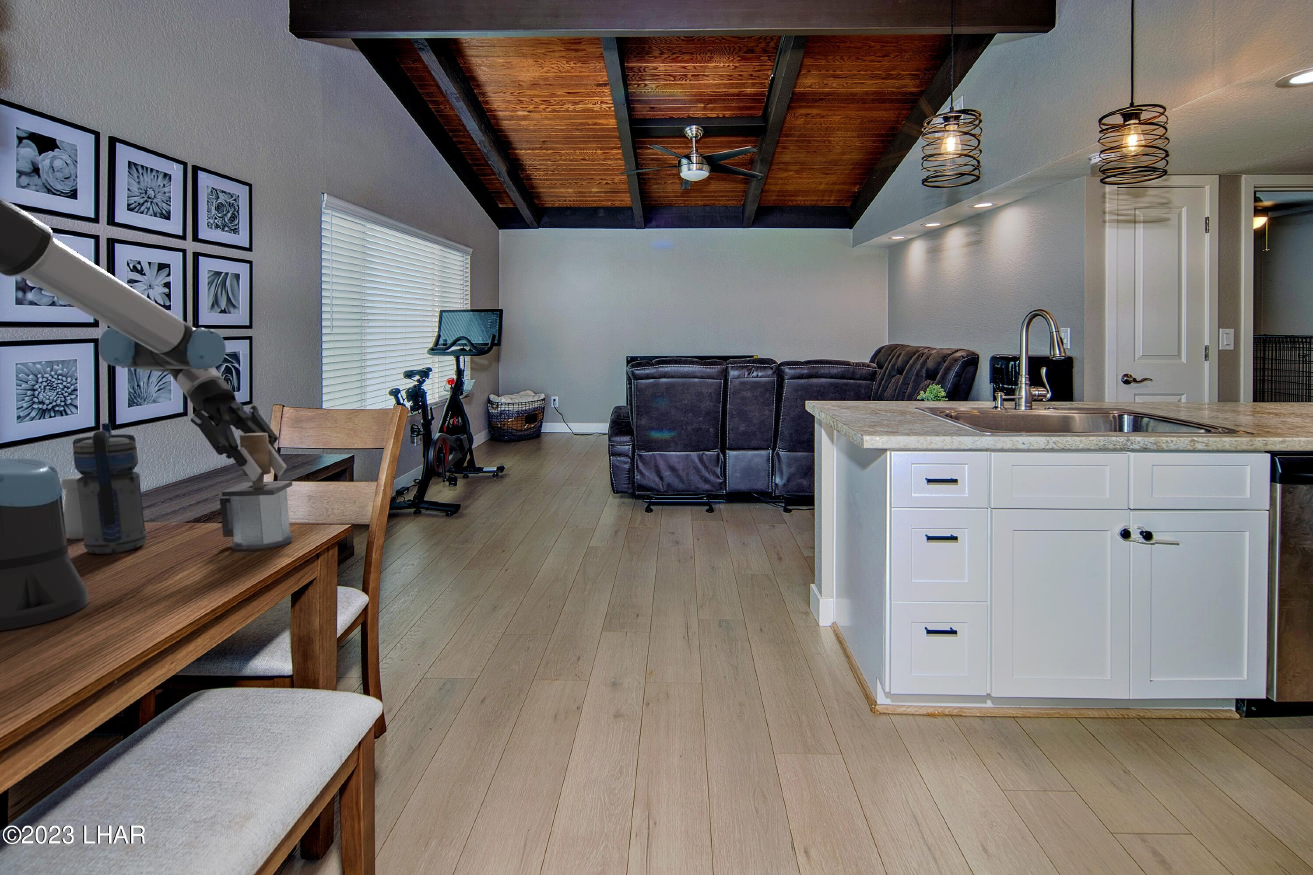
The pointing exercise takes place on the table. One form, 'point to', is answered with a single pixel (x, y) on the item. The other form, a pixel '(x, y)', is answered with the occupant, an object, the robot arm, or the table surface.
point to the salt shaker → (72, 509)
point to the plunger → (257, 454)
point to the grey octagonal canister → (256, 516)
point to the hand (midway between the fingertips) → (269, 473)
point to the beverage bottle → (109, 492)
